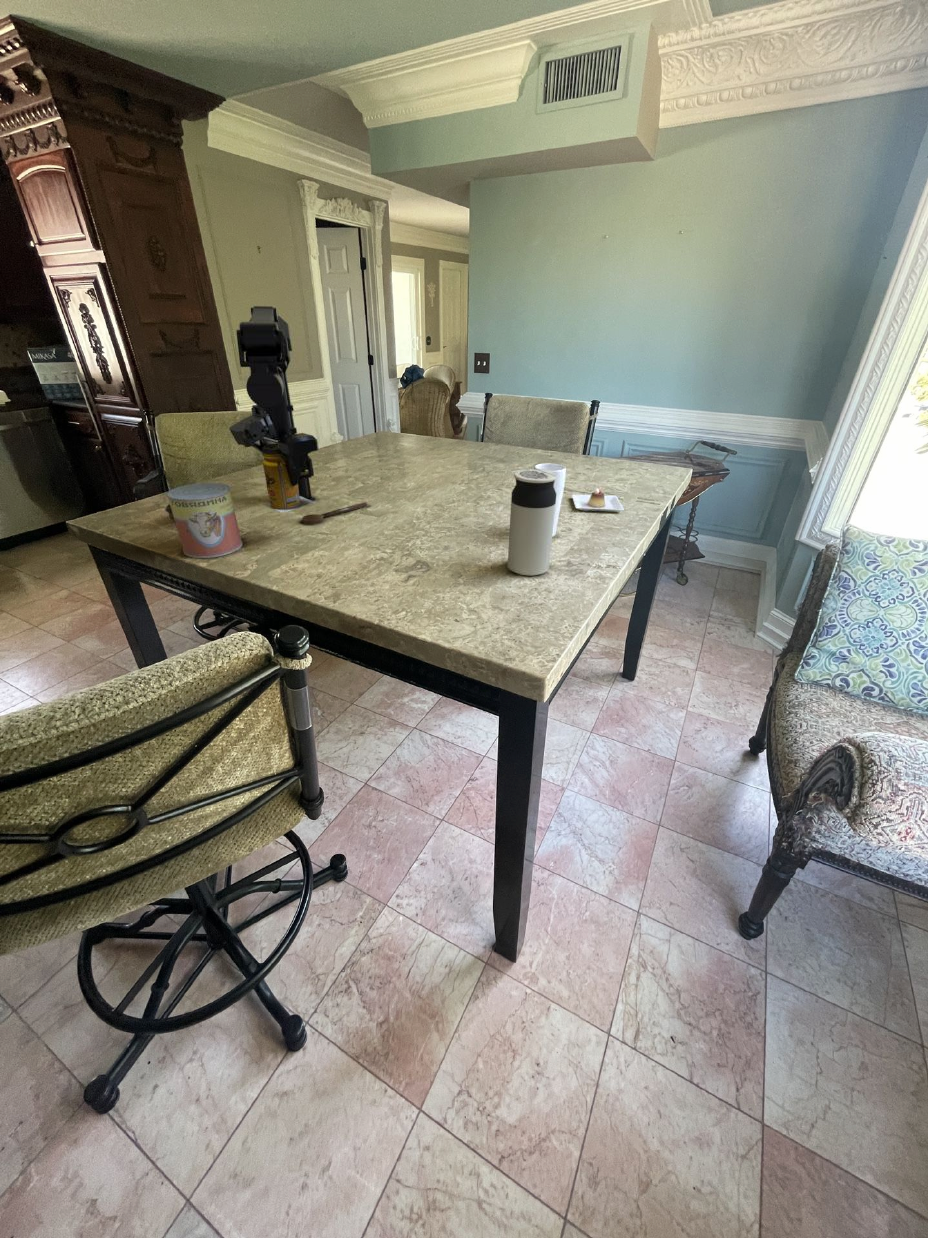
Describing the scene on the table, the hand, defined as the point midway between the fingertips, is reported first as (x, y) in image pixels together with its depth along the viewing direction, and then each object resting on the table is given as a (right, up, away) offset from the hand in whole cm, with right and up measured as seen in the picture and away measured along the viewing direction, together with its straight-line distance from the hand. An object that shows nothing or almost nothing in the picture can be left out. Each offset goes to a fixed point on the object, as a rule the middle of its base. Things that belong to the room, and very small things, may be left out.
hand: (285, 481), depth 102 cm
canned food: (-16, -13, +2) cm, 21 cm away
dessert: (+71, +2, +29) cm, 77 cm away
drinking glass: (+54, -9, +10) cm, 56 cm away
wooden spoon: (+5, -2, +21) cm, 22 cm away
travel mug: (+49, -18, -5) cm, 52 cm away
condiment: (0, -4, +3) cm, 5 cm away
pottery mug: (-27, -5, +16) cm, 32 cm away
